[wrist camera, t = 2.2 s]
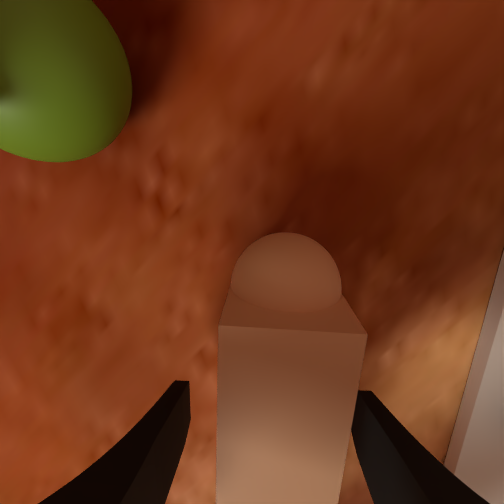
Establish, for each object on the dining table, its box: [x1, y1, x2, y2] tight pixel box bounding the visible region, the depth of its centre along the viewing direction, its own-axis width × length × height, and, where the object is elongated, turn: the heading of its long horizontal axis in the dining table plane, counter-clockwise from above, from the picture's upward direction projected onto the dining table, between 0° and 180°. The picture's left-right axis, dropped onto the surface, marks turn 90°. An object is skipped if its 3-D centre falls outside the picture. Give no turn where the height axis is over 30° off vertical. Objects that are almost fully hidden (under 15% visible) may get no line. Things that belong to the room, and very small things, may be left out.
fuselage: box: [216, 232, 368, 504], centre depth 12 cm, size 14×4×6 cm, turn 177°
